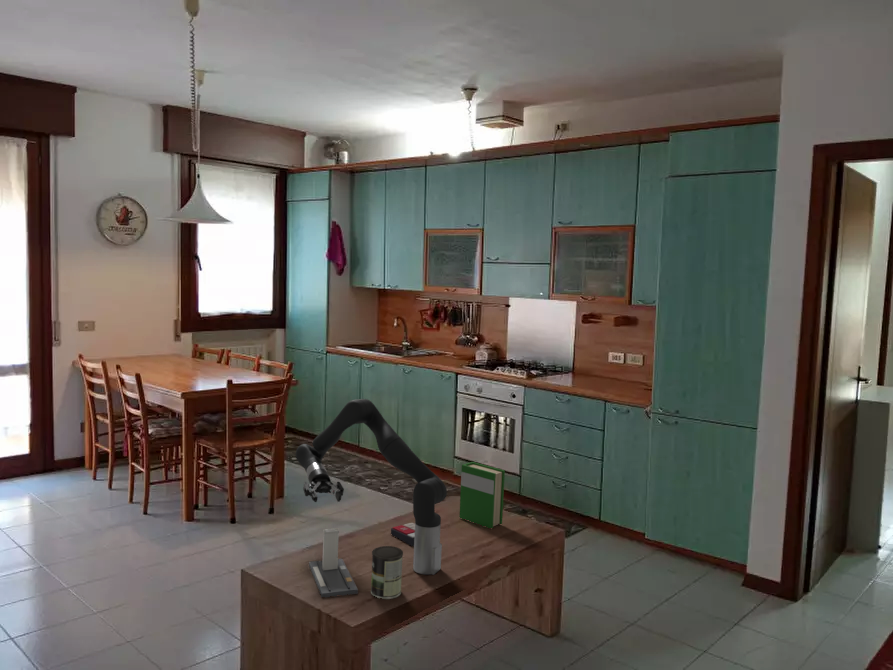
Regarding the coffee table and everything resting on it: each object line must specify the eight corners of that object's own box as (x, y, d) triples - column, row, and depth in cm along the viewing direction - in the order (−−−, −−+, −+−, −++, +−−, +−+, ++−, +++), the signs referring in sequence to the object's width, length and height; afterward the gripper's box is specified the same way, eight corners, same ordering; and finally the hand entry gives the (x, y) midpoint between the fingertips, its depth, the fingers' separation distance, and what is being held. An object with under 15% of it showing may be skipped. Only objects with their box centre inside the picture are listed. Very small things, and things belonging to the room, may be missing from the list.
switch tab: (321, 567, 257) (323, 529, 255) (336, 566, 259) (337, 528, 257) (323, 570, 255) (324, 531, 253) (337, 569, 256) (339, 530, 255)
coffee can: (367, 597, 239) (369, 556, 238) (374, 584, 249) (375, 544, 248) (398, 600, 238) (400, 559, 237) (403, 587, 248) (405, 547, 247)
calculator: (412, 521, 302) (434, 530, 291) (412, 531, 302) (434, 541, 291) (390, 526, 295) (412, 536, 284) (390, 537, 296) (412, 547, 284)
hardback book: (502, 525, 312) (504, 470, 309) (491, 529, 306) (494, 473, 304) (469, 514, 323) (472, 461, 321) (459, 518, 318) (461, 464, 315)
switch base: (309, 565, 262) (309, 560, 262) (342, 562, 266) (342, 557, 266) (321, 597, 238) (321, 591, 238) (357, 593, 242) (358, 587, 242)
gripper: (301, 467, 272) (310, 491, 258) (337, 467, 278) (348, 490, 264) (297, 485, 275) (306, 509, 261) (334, 484, 281) (345, 508, 267)
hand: (327, 499), depth 263 cm, fingers open, 8 cm apart
